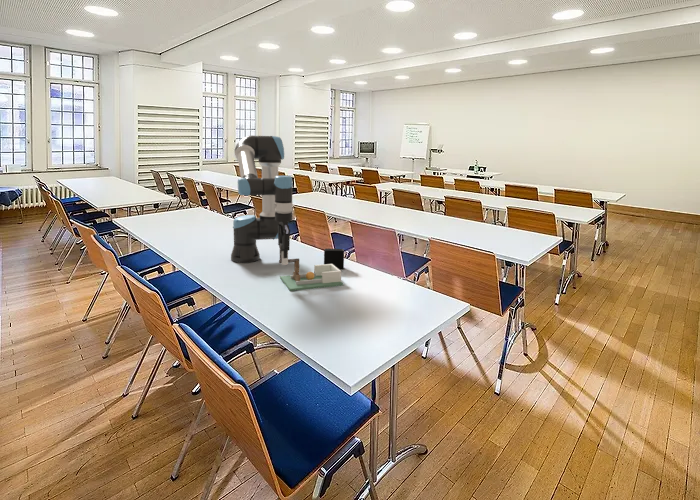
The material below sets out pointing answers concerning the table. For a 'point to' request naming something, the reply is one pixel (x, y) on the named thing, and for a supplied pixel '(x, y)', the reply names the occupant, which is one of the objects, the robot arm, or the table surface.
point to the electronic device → (334, 257)
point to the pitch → (315, 278)
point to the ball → (310, 275)
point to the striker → (296, 265)
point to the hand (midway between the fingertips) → (283, 263)
